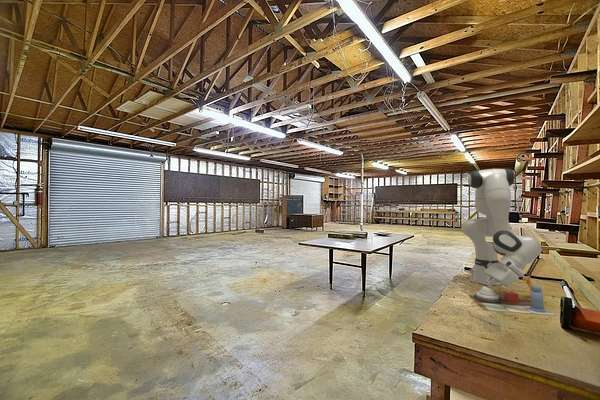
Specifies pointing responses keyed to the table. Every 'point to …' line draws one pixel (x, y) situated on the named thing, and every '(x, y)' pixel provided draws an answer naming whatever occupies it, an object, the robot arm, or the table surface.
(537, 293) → the pawn
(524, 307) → the game board
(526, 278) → the figurine
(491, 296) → the dome
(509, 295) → the red die
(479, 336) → the table surface
